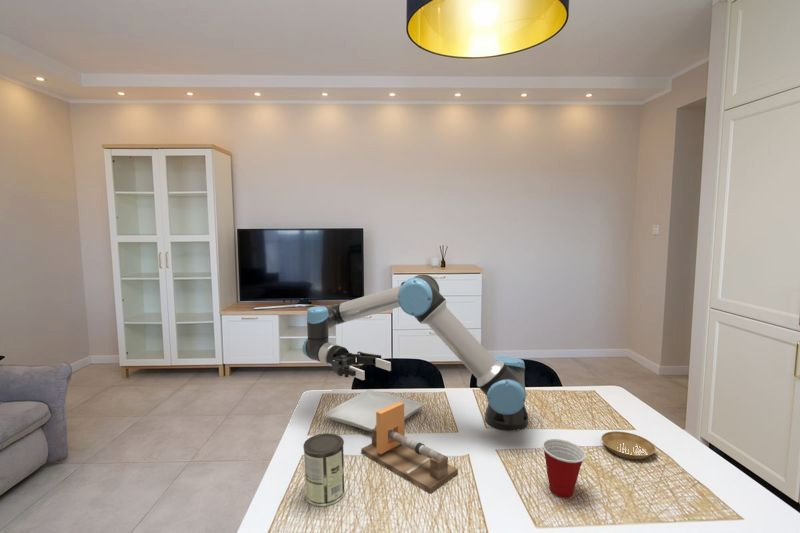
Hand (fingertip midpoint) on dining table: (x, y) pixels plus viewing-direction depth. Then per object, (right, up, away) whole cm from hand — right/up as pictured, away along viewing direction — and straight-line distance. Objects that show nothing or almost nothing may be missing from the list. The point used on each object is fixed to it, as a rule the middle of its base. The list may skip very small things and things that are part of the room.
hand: (377, 371), depth 130 cm
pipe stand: (+9, -26, -6) cm, 28 cm away
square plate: (-2, -23, +24) cm, 34 cm away
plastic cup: (+50, -27, -20) cm, 60 cm away
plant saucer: (+78, -25, 0) cm, 82 cm away
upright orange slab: (+4, -23, -2) cm, 23 cm away
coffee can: (-13, -28, -20) cm, 36 cm away
